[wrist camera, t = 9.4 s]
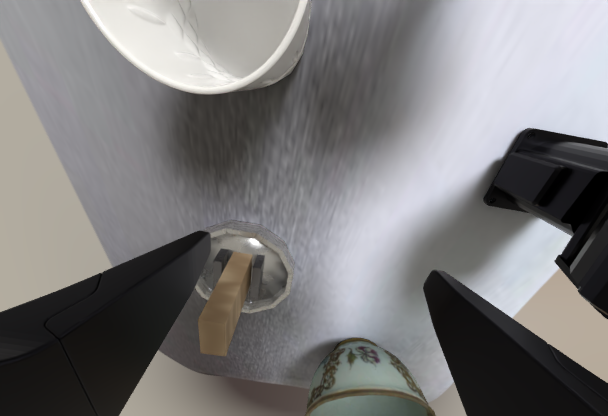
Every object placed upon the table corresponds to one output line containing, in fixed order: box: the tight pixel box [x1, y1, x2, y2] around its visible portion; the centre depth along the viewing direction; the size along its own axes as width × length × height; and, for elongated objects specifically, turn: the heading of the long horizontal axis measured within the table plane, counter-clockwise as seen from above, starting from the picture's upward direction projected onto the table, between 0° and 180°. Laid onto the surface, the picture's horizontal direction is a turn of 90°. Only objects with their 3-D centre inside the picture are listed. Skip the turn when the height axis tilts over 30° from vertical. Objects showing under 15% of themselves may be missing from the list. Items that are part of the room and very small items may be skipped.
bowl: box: [305, 338, 435, 416], centre depth 27 cm, size 14×13×8 cm
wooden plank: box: [198, 252, 253, 356], centre depth 21 cm, size 2×4×8 cm, turn 171°
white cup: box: [80, 0, 312, 94], centre depth 11 cm, size 8×8×10 cm
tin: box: [195, 220, 295, 313], centre depth 24 cm, size 11×11×2 cm
